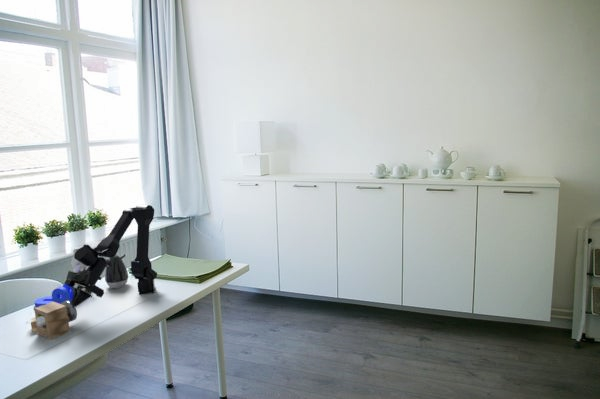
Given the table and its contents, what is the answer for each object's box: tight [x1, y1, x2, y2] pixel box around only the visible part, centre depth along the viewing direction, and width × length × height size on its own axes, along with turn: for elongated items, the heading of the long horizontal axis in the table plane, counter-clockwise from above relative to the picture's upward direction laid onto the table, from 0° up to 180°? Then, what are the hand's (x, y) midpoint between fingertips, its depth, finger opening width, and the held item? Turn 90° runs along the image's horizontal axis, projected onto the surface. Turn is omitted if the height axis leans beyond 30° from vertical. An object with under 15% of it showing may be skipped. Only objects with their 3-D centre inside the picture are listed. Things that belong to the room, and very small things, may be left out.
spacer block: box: [30, 317, 38, 333], centre depth 170 cm, size 4×4×4 cm
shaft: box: [36, 300, 78, 327], centre depth 167 cm, size 12×8×8 cm, turn 146°
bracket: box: [34, 284, 73, 308], centre depth 194 cm, size 18×8×9 cm, turn 80°
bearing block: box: [33, 302, 71, 340], centre depth 166 cm, size 7×9×10 cm
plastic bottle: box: [70, 248, 88, 272], centre depth 207 cm, size 6×7×20 cm
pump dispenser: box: [104, 254, 129, 289], centre depth 212 cm, size 10×10×15 cm
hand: (71, 307), depth 171 cm, fingers closed, pressing on shaft
